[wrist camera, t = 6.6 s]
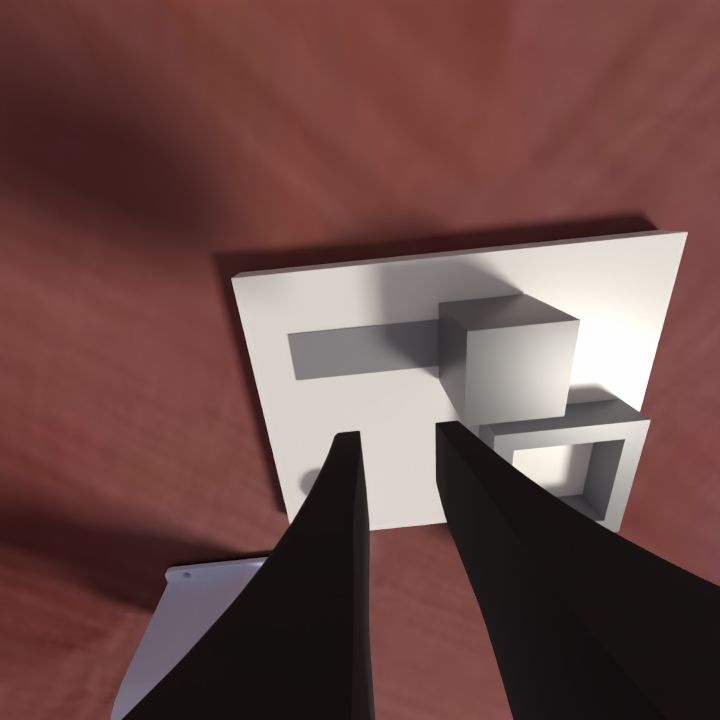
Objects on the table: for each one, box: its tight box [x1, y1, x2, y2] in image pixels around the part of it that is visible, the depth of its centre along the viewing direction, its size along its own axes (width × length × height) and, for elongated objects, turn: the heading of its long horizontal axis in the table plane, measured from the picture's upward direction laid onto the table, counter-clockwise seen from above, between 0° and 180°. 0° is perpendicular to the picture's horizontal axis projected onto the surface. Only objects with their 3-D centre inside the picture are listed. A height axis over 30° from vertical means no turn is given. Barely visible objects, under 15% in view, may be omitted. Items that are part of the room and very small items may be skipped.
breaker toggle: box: [439, 294, 580, 426], centre depth 15 cm, size 4×4×4 cm
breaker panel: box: [231, 230, 688, 532], centre depth 18 cm, size 20×16×4 cm
